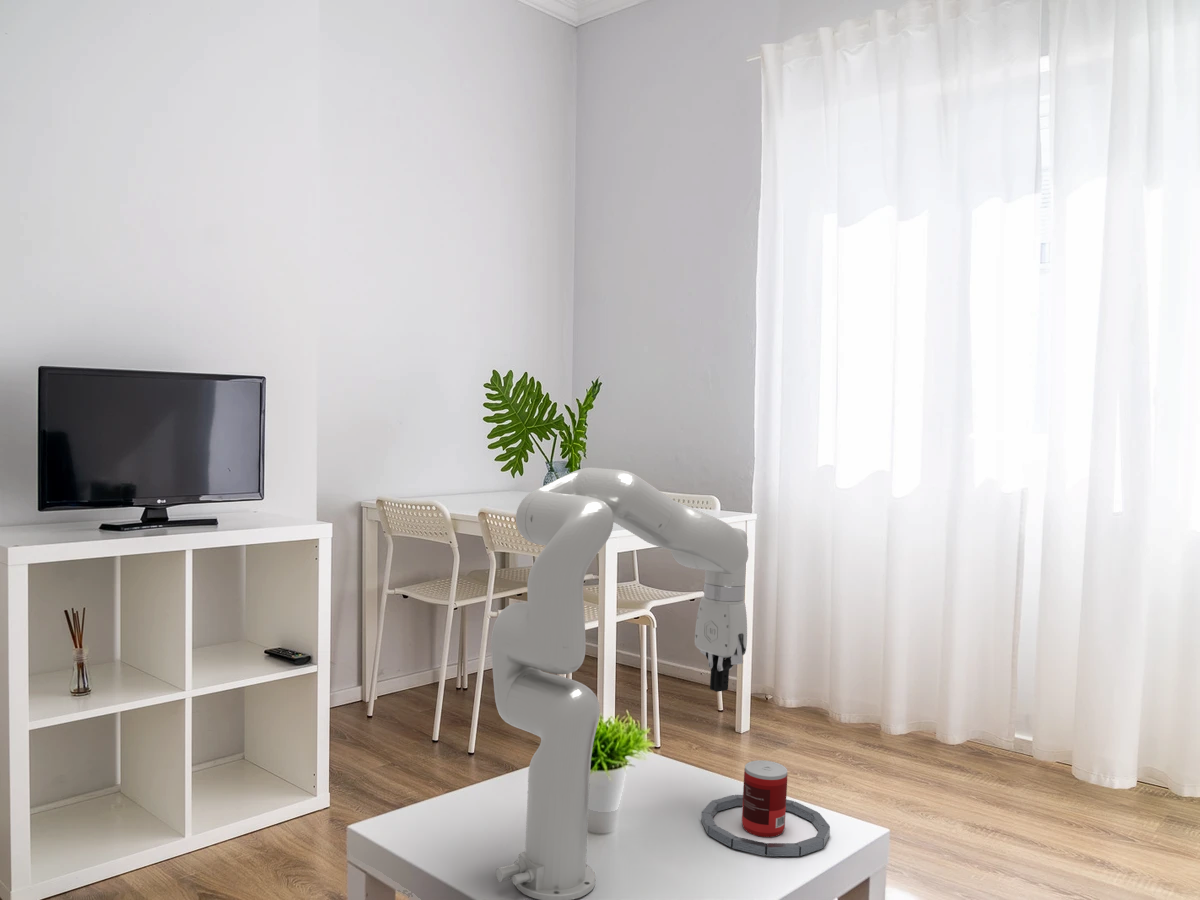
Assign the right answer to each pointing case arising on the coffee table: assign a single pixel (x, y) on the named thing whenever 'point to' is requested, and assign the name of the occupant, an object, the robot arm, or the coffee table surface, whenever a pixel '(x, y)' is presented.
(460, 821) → the coffee table surface
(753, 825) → the canned food
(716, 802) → the ring
